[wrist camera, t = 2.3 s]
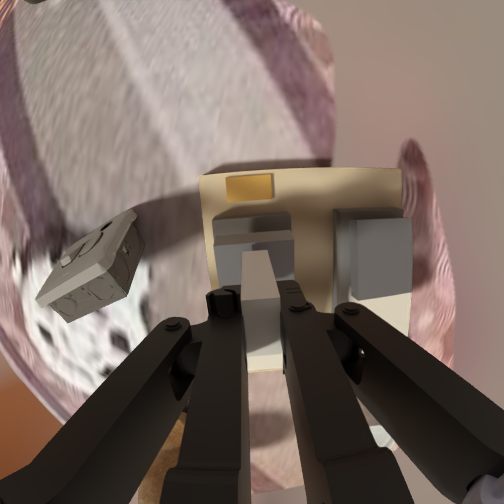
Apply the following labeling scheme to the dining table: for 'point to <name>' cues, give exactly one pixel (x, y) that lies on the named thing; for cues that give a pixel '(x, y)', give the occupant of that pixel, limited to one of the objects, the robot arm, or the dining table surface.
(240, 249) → the rocker
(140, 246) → the electrical switch
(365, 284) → the rocker
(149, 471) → the tan piece
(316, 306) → the switch board
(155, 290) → the dining table surface
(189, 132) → the dining table surface
